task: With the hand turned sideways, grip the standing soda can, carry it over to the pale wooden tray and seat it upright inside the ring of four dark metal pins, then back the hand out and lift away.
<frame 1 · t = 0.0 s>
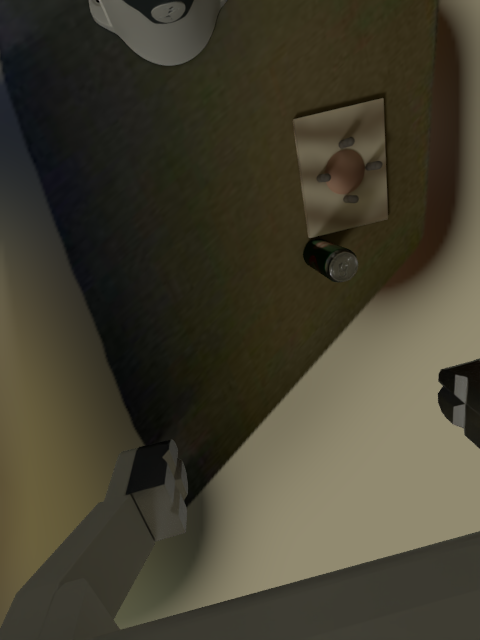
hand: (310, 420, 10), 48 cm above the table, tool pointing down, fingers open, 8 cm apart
soda can: (315, 252, 57), on the table
can tray: (341, 172, 53), on the table
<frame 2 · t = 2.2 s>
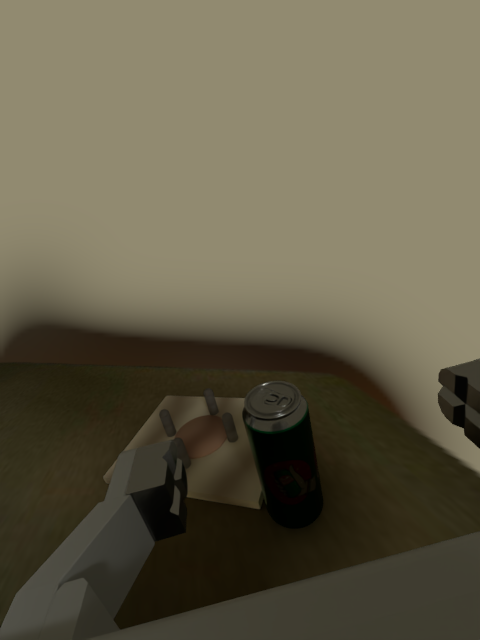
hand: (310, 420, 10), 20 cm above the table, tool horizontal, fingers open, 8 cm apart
soda can: (295, 505, 29), on the table
can tray: (203, 442, 38), on the table
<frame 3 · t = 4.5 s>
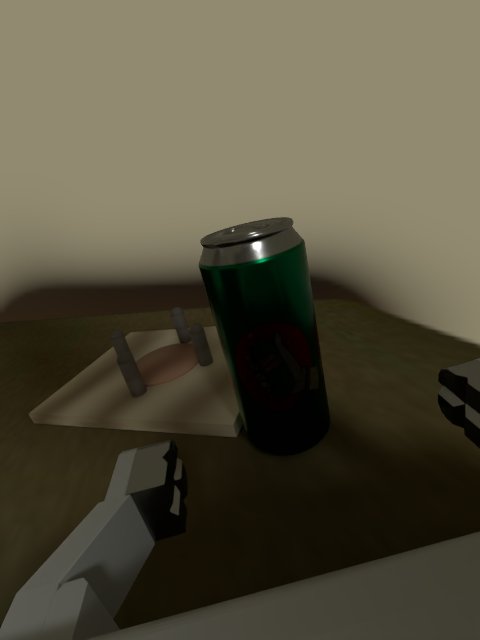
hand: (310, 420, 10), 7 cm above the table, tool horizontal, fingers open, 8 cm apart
soda can: (288, 430, 19), on the table
can tray: (168, 372, 29), on the table
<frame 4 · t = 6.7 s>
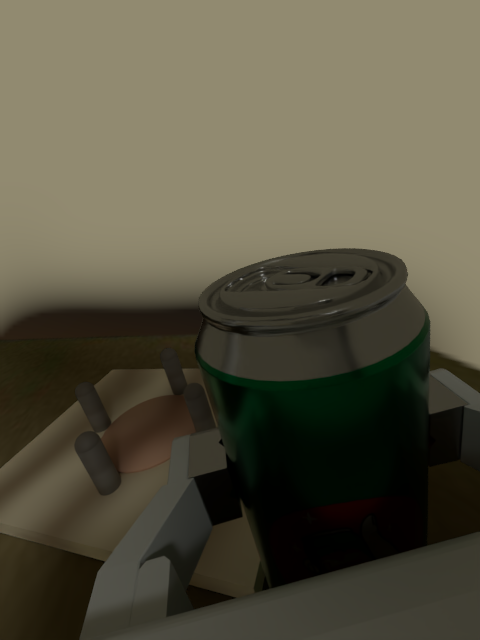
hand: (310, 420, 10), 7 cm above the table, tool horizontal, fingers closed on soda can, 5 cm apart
soda can: (345, 595, 12), on the table, touching gripper
can tray: (156, 441, 21), on the table
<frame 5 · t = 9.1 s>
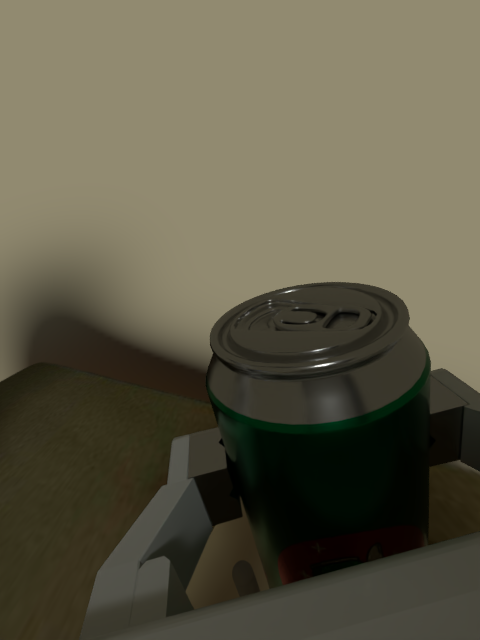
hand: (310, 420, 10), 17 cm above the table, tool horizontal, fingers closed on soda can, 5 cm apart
soda can: (348, 610, 12), point 8 cm above the table, touching gripper
when the fingers open (10 cm above the table, at t = 11.6 s): soda can stays where it is, resting on can tray.
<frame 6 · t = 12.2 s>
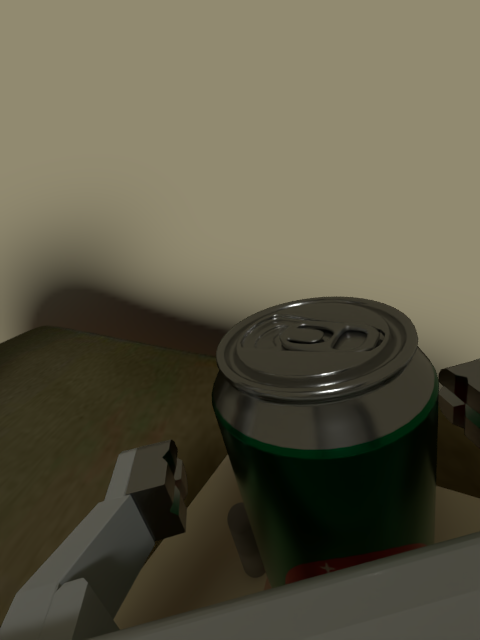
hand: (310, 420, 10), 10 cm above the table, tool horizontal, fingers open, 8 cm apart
soda can: (352, 619, 12), point 1 cm above the table, touching can tray
can tray: (349, 628, 12), on the table
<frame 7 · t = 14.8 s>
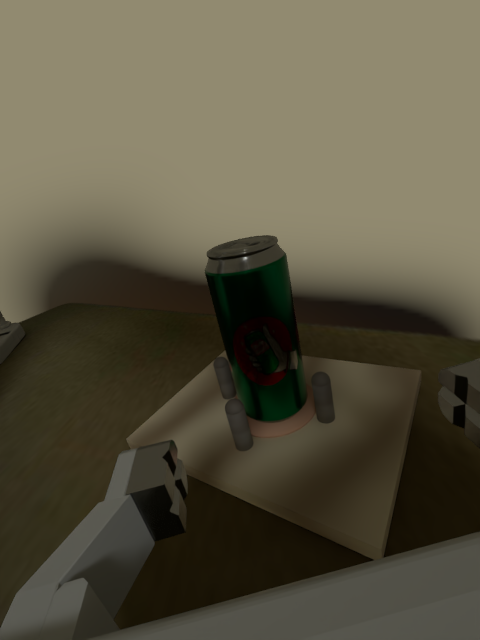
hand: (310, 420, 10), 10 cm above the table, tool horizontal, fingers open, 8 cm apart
soda can: (274, 405, 24), point 1 cm above the table, touching can tray
can tray: (275, 415, 24), on the table
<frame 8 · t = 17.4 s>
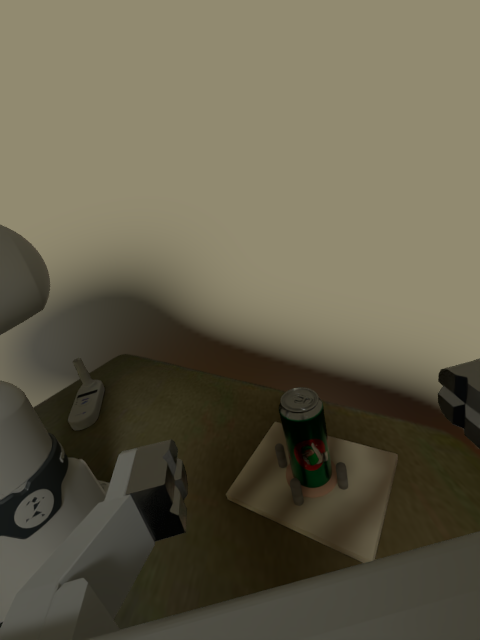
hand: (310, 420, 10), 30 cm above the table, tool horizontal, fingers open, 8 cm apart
soda can: (312, 474, 41), point 1 cm above the table, touching can tray
electronic device: (90, 408, 70), on the table
can tray: (312, 479, 42), on the table
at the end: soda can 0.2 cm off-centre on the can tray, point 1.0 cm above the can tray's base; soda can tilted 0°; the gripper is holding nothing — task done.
